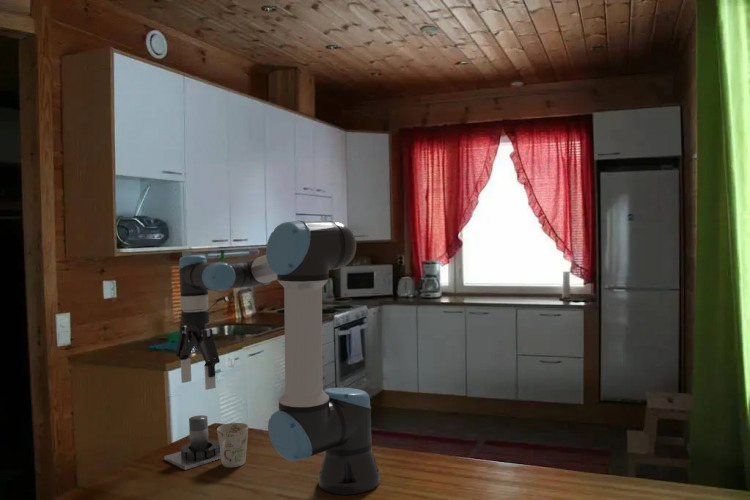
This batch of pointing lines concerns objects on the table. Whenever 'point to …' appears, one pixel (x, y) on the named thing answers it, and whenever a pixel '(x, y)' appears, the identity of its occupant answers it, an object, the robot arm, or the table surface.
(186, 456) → the mount
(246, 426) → the mug
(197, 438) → the lens
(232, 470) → the table surface
